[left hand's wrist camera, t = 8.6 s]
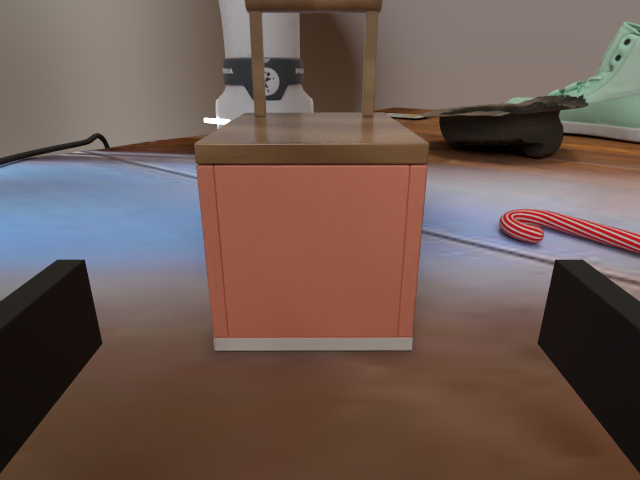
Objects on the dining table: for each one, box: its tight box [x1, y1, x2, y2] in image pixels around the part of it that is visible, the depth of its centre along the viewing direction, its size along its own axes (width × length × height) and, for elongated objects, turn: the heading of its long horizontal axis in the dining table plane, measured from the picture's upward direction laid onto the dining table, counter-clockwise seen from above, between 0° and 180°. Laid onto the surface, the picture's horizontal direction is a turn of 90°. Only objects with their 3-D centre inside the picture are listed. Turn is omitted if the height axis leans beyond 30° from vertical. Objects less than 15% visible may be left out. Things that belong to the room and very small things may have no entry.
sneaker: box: [506, 22, 640, 143], centre depth 89 cm, size 14×35×20 cm, turn 43°
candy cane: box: [499, 209, 640, 253], centre depth 33 cm, size 6×15×2 cm, turn 36°
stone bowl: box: [420, 94, 588, 158], centre depth 73 cm, size 25×25×9 cm
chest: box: [196, 164, 427, 351], centre depth 26 cm, size 13×10×9 cm
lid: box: [194, 0, 429, 164], centre depth 23 cm, size 13×10×9 cm
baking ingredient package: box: [387, 113, 423, 118], centre depth 124 cm, size 9×1×15 cm
